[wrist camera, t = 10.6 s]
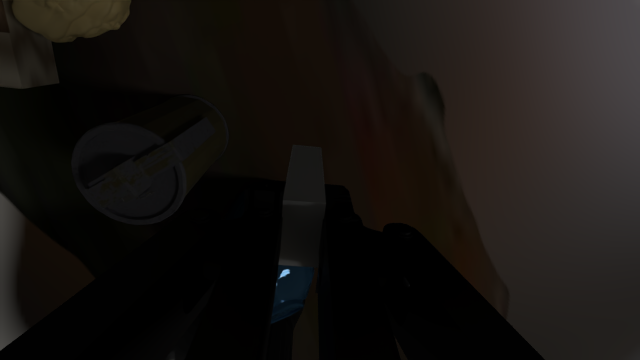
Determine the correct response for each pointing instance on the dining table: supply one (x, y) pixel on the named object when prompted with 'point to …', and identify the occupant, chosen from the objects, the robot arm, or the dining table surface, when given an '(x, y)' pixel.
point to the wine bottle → (282, 276)
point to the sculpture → (71, 17)
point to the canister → (149, 159)
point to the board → (23, 53)
